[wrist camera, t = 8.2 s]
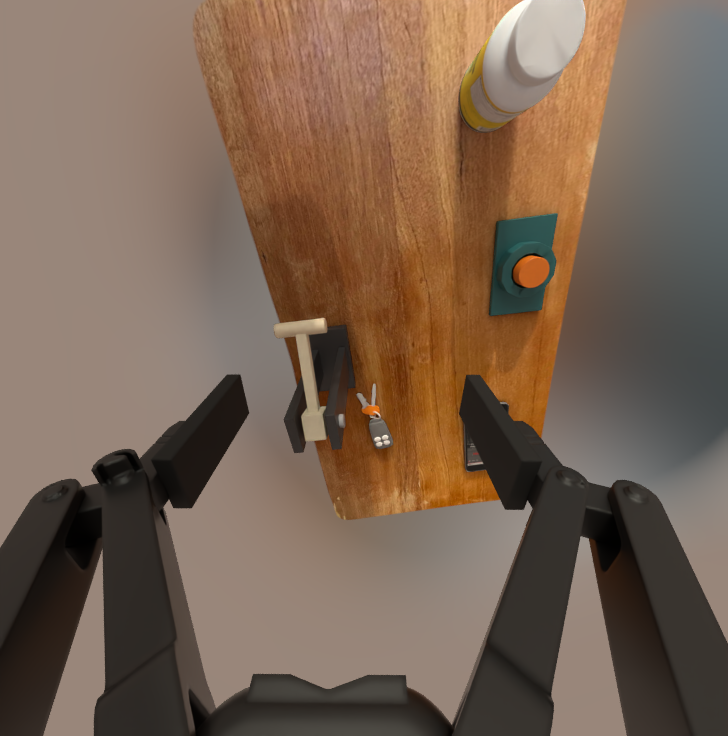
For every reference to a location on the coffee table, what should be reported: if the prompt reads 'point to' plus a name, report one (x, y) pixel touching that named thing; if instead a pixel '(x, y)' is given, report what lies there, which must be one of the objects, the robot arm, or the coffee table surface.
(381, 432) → the key chain
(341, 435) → the lever switch stand
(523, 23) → the pill bottle
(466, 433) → the smartphone
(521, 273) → the button
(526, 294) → the teal button base
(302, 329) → the switch lever
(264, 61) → the coffee table surface
